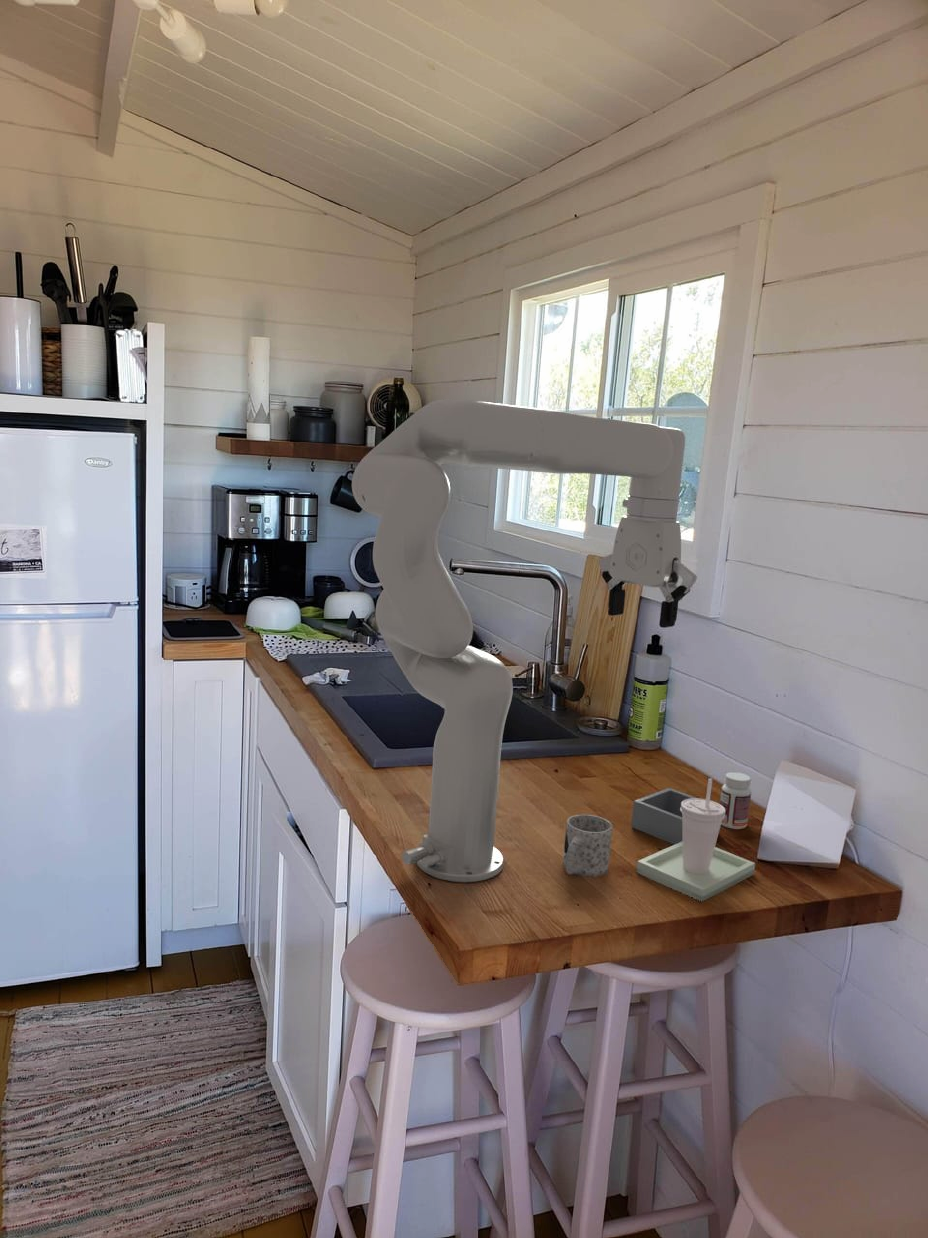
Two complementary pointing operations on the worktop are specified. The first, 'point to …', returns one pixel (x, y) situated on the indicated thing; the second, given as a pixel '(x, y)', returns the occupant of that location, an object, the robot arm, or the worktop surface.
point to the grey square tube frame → (660, 815)
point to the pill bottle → (736, 800)
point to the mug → (587, 845)
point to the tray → (699, 886)
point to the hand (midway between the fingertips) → (640, 620)
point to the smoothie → (700, 831)
